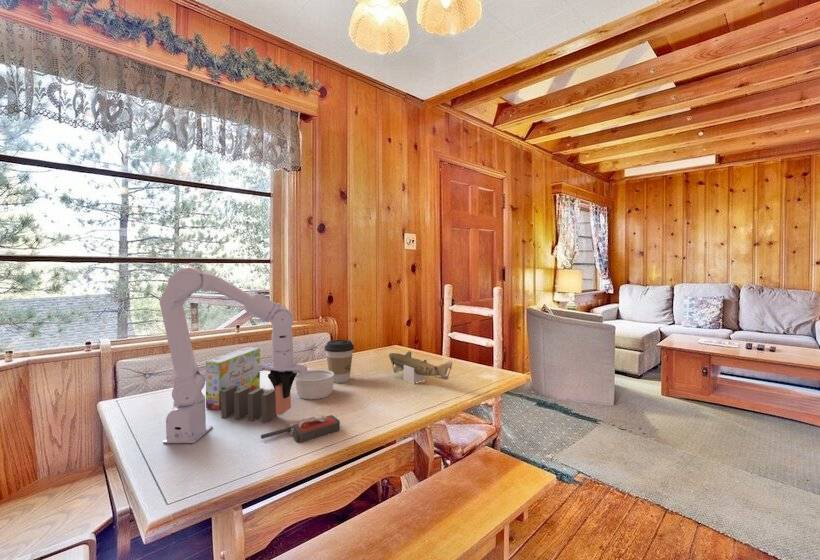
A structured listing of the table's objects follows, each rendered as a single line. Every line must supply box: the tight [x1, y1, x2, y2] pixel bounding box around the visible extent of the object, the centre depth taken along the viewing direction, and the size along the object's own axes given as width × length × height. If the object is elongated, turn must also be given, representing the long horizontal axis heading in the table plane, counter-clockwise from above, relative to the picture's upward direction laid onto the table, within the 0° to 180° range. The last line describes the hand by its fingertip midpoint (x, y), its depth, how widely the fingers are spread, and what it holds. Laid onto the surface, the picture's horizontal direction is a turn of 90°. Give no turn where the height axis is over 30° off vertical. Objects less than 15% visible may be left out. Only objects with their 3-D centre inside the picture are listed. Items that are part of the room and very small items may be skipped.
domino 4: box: [261, 388, 278, 424], centre depth 110 cm, size 2×5×8 cm, turn 166°
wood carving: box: [388, 351, 453, 384], centre depth 144 cm, size 9×35×11 cm, turn 40°
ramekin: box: [294, 369, 334, 401], centre depth 131 cm, size 13×13×7 cm
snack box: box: [205, 346, 261, 411], centre depth 127 cm, size 21×6×15 cm, turn 168°
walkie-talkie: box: [260, 414, 341, 444], centre depth 101 cm, size 9×4×20 cm
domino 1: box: [220, 386, 237, 419], centre depth 113 cm, size 2×5×8 cm, turn 166°
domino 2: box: [234, 387, 250, 421], centre depth 112 cm, size 2×5×8 cm, turn 166°
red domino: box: [274, 383, 292, 416], centre depth 109 cm, size 2×5×8 cm, turn 166°
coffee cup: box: [324, 339, 355, 384], centre depth 146 cm, size 11×11×15 cm
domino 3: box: [247, 387, 264, 422], centre depth 111 cm, size 2×5×8 cm, turn 166°
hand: (283, 396), depth 109 cm, fingers closed on red domino, 1 cm apart
